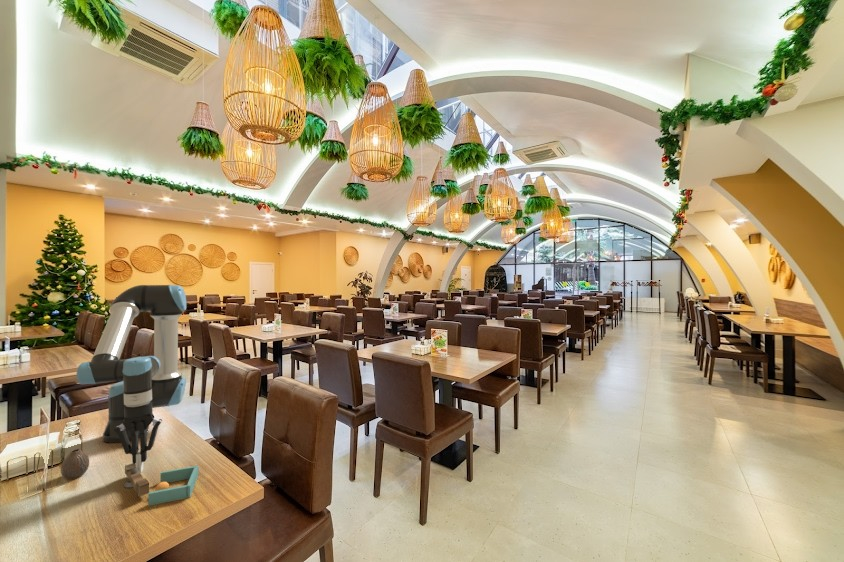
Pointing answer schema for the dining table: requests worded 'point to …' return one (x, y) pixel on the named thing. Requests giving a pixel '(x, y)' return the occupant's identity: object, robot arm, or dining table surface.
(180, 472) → the teal arch
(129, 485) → the pivot base
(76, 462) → the vase
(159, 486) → the ball
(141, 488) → the lever
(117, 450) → the dining table surface
